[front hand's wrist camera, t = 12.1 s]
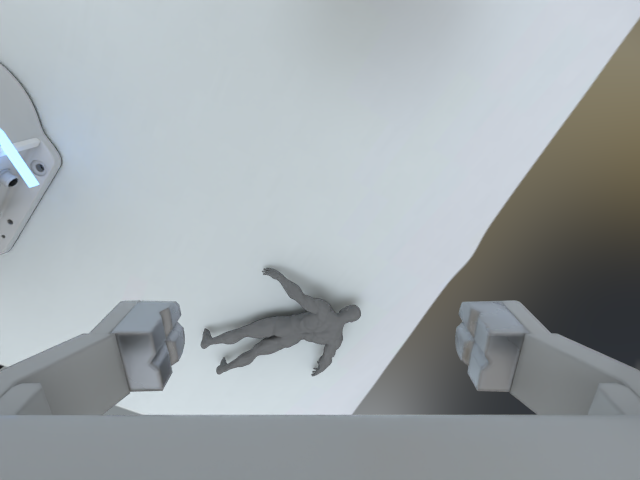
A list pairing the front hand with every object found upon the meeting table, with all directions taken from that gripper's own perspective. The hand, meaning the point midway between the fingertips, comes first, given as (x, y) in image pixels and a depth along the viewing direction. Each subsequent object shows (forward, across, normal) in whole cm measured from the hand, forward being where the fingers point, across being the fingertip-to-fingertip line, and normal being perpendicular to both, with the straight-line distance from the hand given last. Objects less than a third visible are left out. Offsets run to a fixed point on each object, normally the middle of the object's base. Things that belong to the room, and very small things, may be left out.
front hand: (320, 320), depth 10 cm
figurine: (+30, +5, +21) cm, 37 cm away
